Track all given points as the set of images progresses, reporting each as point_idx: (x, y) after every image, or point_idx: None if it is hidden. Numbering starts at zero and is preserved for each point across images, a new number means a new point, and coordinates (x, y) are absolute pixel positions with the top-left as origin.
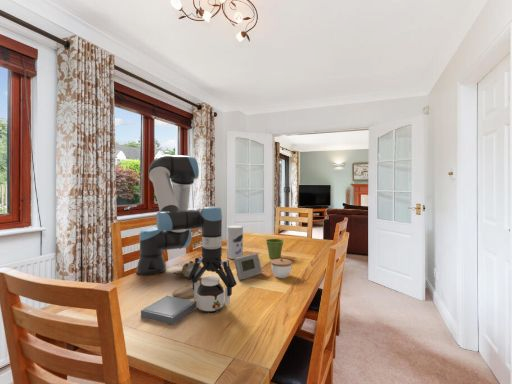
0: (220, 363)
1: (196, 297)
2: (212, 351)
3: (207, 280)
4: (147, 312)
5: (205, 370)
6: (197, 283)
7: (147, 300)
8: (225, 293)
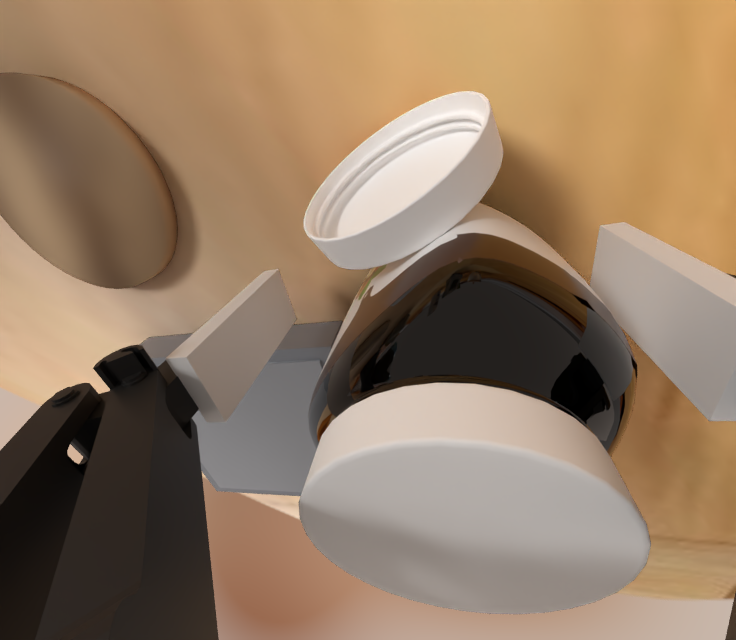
0: (716, 566)
1: (289, 318)
2: (656, 537)
3: (442, 579)
4: (249, 490)
5: (668, 584)
6: (219, 385)
7: (81, 366)
8: (669, 364)
